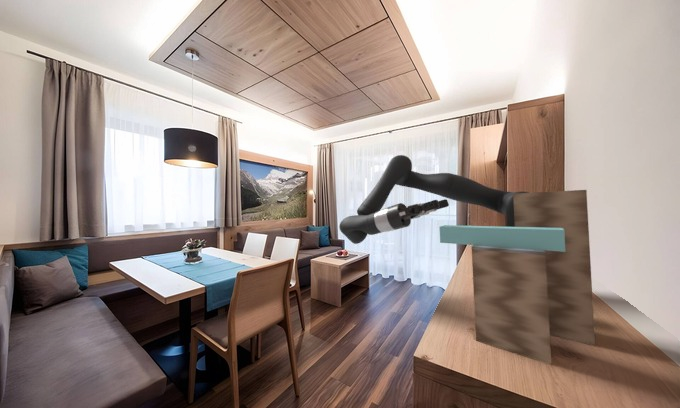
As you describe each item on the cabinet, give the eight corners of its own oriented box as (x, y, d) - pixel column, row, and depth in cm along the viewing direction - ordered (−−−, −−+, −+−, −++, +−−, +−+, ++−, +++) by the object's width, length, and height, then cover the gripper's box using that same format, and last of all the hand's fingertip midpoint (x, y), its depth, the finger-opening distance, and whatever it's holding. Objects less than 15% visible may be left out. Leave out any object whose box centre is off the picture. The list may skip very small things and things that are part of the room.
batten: (440, 242, 56) (439, 226, 56) (445, 240, 58) (444, 225, 59) (565, 251, 41) (564, 230, 41) (563, 248, 44) (562, 227, 44)
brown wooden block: (476, 340, 49) (471, 246, 49) (482, 325, 55) (478, 241, 55) (551, 364, 41) (545, 252, 41) (549, 343, 47) (544, 245, 47)
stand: (519, 326, 54) (513, 193, 54) (521, 315, 59) (515, 194, 59) (595, 345, 46) (586, 189, 46) (589, 330, 51) (581, 190, 51)
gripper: (377, 208, 66) (430, 189, 56) (398, 206, 77) (446, 190, 67) (384, 232, 65) (439, 218, 55) (405, 227, 76) (454, 214, 66)
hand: (443, 202), depth 61 cm, fingers open, 8 cm apart
